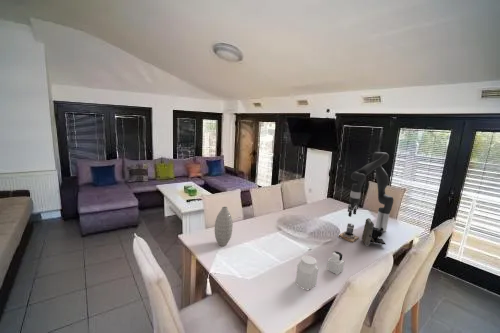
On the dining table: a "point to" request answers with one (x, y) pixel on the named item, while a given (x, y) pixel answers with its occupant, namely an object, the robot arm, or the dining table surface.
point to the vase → (223, 227)
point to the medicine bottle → (336, 263)
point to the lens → (350, 229)
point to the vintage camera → (371, 233)
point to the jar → (307, 272)
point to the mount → (348, 237)
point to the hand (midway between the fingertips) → (352, 215)
